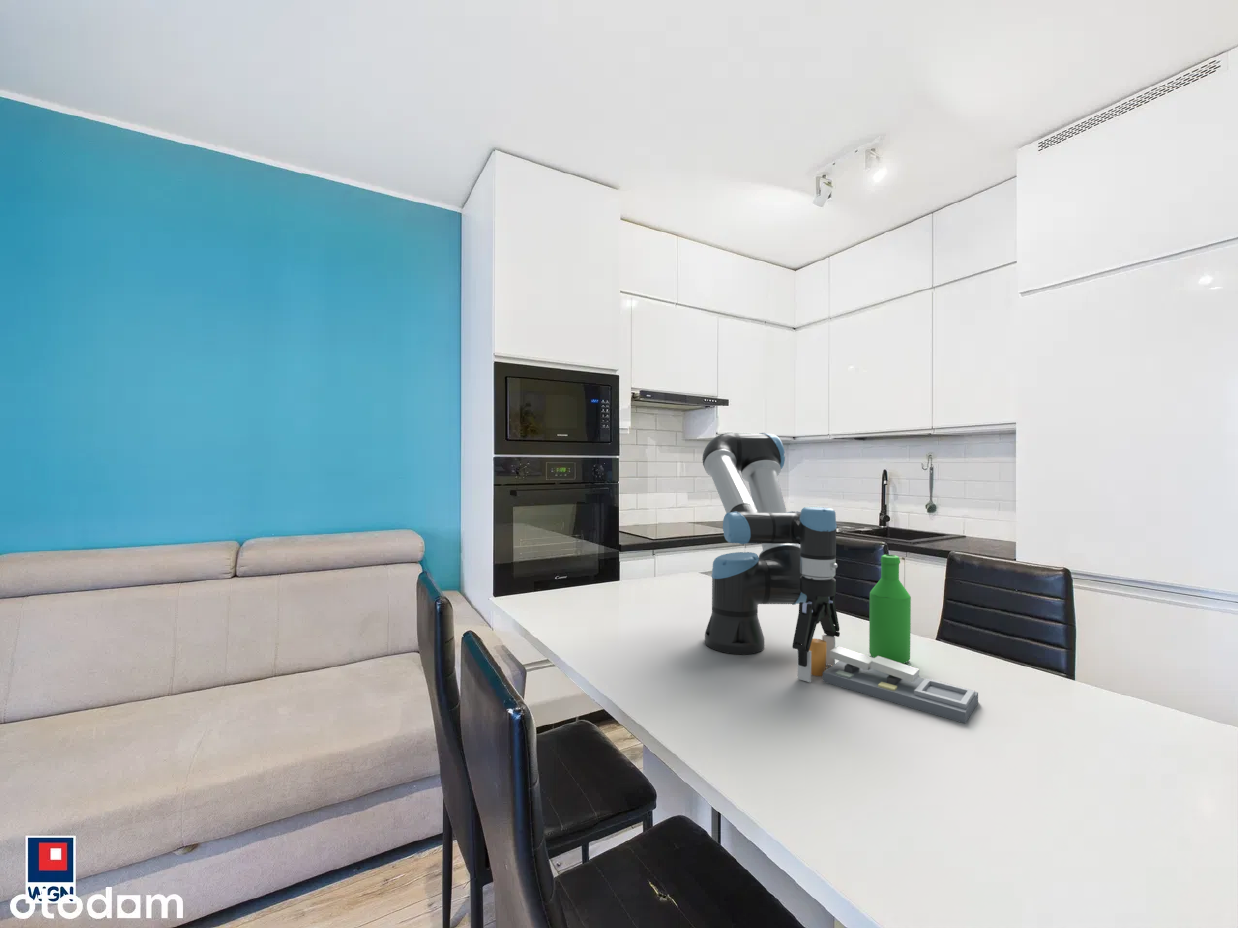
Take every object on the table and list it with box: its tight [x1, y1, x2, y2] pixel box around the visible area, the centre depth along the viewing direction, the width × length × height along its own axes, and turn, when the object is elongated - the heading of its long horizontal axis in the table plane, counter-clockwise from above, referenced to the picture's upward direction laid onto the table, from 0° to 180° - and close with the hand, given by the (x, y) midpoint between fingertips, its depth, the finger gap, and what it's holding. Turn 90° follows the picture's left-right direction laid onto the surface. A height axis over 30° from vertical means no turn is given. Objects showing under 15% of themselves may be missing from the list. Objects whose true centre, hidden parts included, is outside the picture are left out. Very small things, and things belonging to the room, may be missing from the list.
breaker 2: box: [870, 656, 920, 682], centre depth 108 cm, size 8×4×2 cm, turn 46°
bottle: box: [868, 554, 912, 664], centre depth 126 cm, size 9×9×25 cm
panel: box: [822, 660, 979, 724], centre depth 108 cm, size 26×12×3 cm, turn 46°
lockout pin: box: [809, 638, 827, 677], centre depth 117 cm, size 4×4×7 cm
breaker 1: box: [830, 645, 874, 671], centre depth 114 cm, size 8×4×2 cm, turn 46°
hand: (816, 671), depth 117 cm, fingers open, 12 cm apart
